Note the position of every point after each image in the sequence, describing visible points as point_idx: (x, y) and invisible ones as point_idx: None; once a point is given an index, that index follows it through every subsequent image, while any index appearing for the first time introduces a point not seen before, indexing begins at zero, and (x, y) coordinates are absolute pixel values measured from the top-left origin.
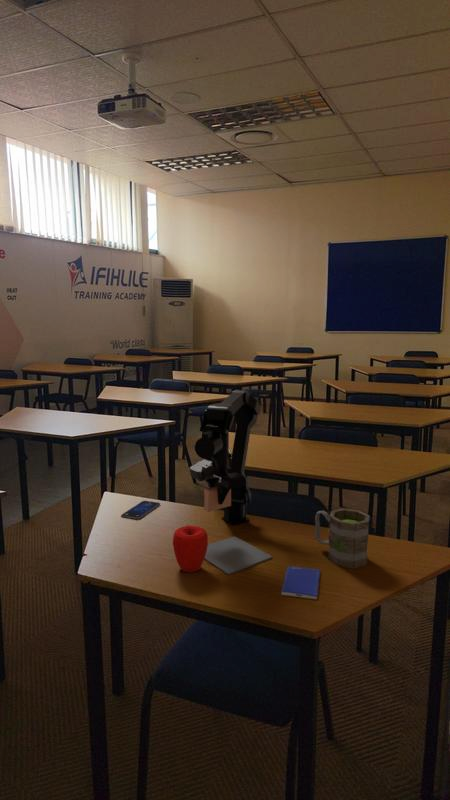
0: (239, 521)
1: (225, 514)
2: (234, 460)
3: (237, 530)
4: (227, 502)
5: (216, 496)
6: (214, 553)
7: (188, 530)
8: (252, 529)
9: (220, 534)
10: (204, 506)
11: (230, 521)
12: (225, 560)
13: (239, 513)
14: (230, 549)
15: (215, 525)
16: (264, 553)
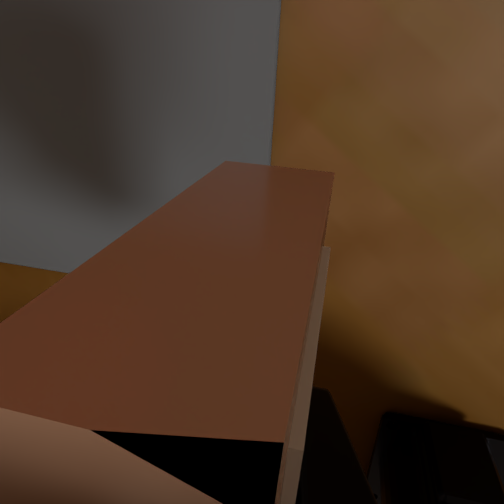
0: (382, 452)
1: (474, 459)
2: None
3: (320, 374)
4: (199, 465)
5: (130, 434)
6: (145, 38)
7: None
8: None
9: (354, 277)
10: (329, 187)
11: (422, 427)
12: (35, 30)
13: (387, 499)
14: (136, 161)
15: (482, 351)
16: (17, 256)
